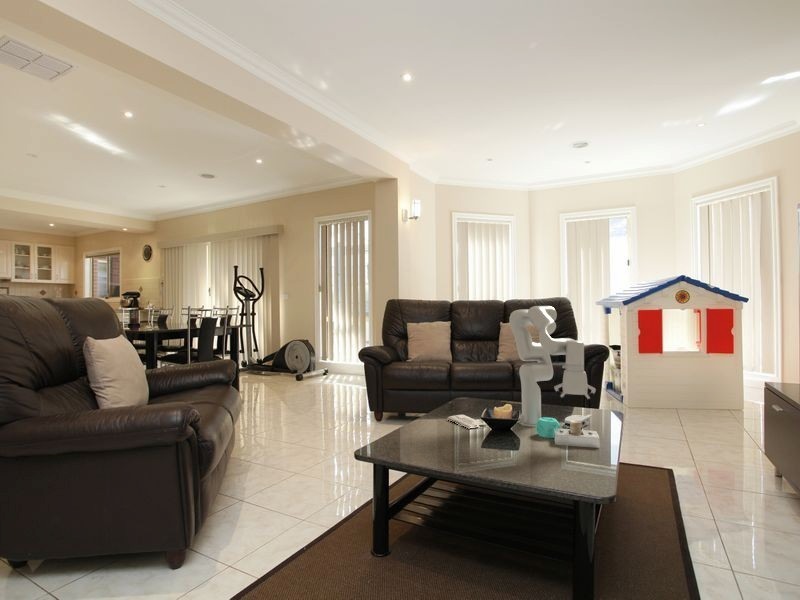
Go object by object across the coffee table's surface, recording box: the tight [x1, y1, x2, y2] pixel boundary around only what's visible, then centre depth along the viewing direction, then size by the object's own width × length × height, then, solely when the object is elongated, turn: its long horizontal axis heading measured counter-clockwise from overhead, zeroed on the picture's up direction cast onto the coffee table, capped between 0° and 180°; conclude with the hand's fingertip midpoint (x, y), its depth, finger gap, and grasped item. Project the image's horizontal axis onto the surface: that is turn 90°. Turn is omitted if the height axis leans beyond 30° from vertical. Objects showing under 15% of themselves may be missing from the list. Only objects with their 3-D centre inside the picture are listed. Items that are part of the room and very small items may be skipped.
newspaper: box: [447, 414, 487, 430], centre depth 230 cm, size 23×12×2 cm, turn 21°
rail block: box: [553, 428, 601, 449], centre depth 196 cm, size 18×10×5 cm, turn 73°
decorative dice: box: [535, 416, 561, 439], centre depth 208 cm, size 8×8×8 cm
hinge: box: [563, 413, 593, 429], centre depth 225 cm, size 17×5×10 cm
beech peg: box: [569, 420, 582, 435], centre depth 196 cm, size 4×4×10 cm
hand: (574, 406), depth 196 cm, fingers open, 9 cm apart
